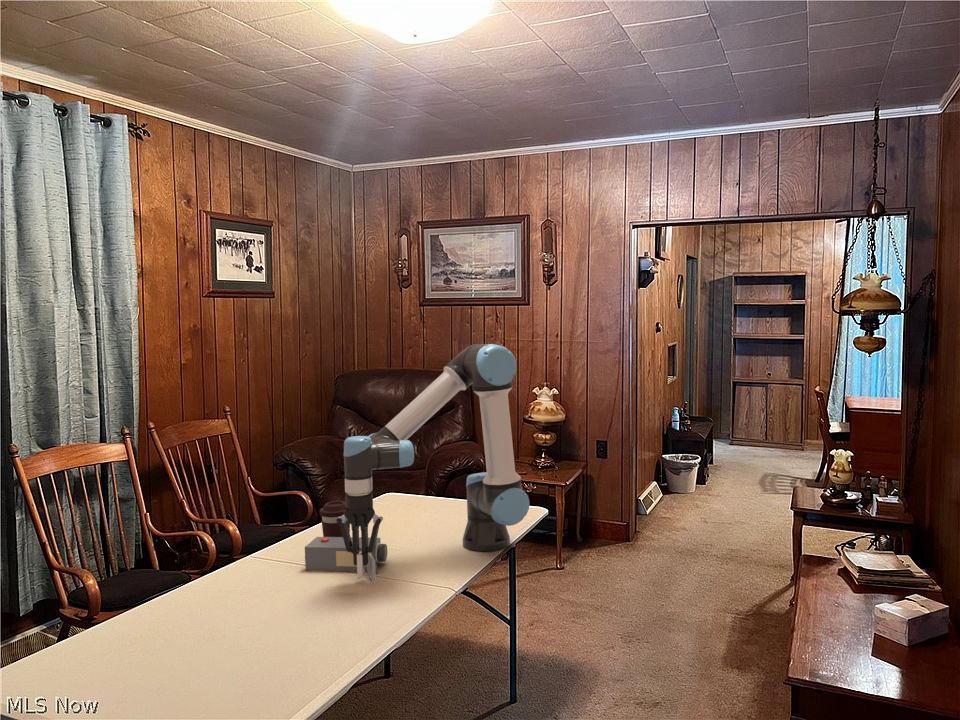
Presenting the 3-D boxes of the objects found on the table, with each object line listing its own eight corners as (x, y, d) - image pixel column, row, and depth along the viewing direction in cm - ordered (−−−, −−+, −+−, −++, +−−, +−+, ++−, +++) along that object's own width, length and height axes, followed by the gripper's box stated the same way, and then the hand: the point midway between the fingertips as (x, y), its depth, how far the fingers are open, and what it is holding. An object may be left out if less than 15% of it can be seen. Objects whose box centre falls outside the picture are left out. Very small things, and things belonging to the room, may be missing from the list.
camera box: (388, 560, 217) (387, 535, 217) (378, 573, 206) (377, 546, 206) (317, 559, 221) (316, 534, 220) (304, 571, 210) (303, 545, 209)
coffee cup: (356, 545, 233) (354, 499, 233) (347, 555, 224) (346, 507, 223) (326, 544, 234) (325, 499, 234) (316, 554, 225) (315, 507, 224)
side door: (367, 570, 207) (366, 550, 207) (371, 569, 207) (371, 549, 207) (373, 582, 197) (372, 560, 197) (378, 581, 198) (377, 560, 198)
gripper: (385, 489, 202) (387, 572, 203) (340, 489, 203) (343, 571, 204) (378, 496, 194) (380, 581, 195) (331, 495, 196) (334, 580, 197)
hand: (361, 576), depth 200 cm, fingers closed
